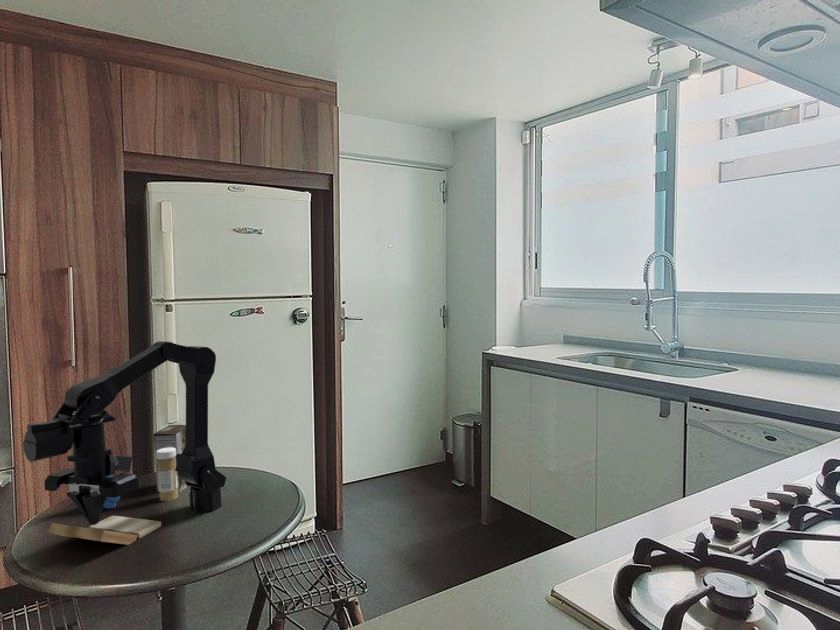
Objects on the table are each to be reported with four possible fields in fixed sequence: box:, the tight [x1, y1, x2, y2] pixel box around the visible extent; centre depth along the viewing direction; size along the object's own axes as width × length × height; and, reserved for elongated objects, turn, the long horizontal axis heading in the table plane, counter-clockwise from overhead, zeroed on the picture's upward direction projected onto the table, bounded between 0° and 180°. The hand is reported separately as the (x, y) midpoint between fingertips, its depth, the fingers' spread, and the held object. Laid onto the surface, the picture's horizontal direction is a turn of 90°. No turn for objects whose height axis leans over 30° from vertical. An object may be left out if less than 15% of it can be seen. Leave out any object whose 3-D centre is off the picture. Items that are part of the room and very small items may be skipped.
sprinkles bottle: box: [156, 447, 179, 502], centre depth 137 cm, size 5×5×13 cm
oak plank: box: [47, 522, 138, 546], centre depth 112 cm, size 14×9×2 cm, turn 72°
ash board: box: [88, 515, 162, 539], centre depth 120 cm, size 14×6×2 cm, turn 72°
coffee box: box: [152, 424, 188, 494], centre depth 147 cm, size 9×6×16 cm
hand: (94, 524), depth 109 cm, fingers closed
